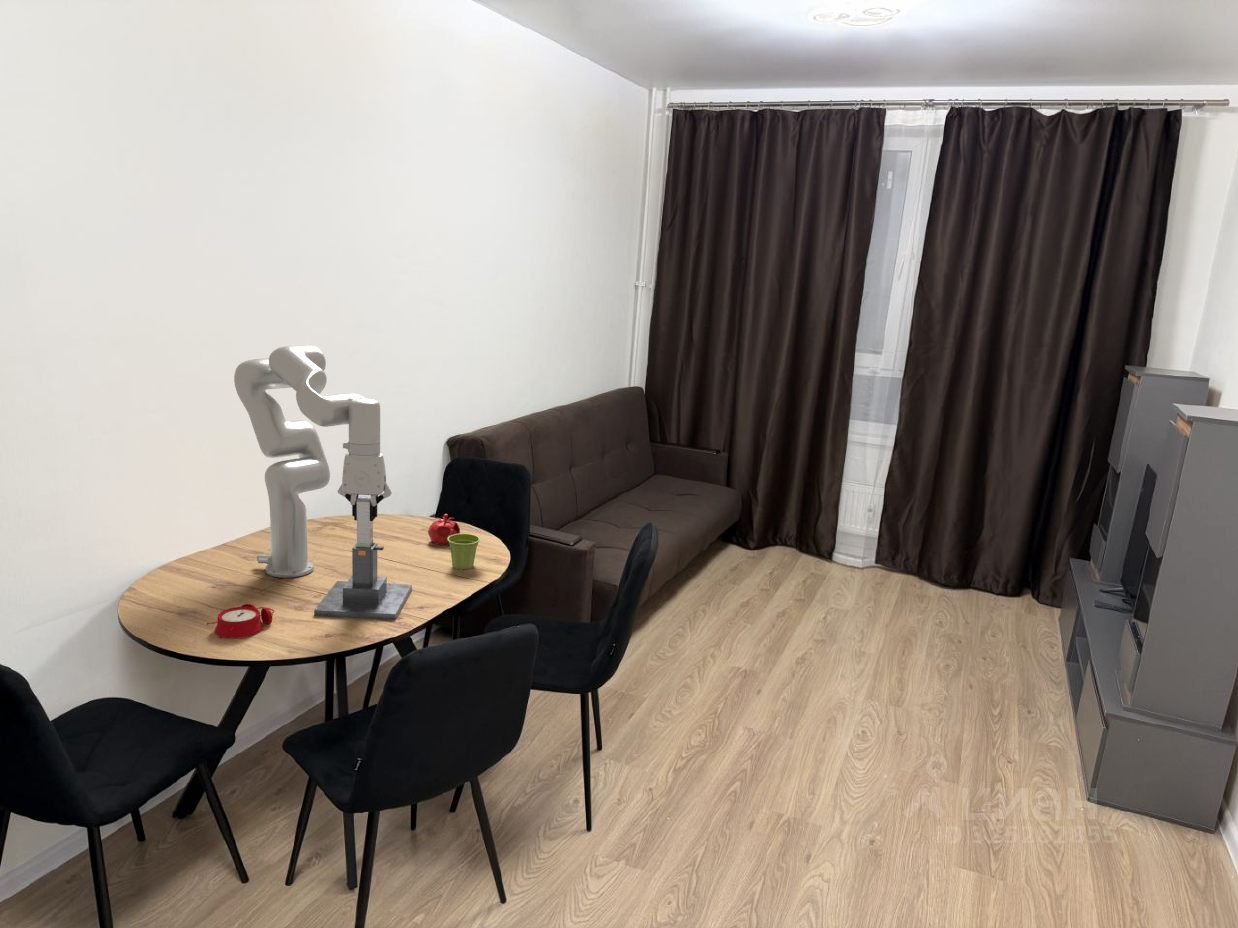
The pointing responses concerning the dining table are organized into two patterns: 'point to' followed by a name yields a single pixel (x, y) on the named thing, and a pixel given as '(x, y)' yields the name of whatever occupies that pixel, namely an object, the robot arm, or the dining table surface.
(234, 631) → the alarm clock
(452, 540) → the plant pot
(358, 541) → the steel post
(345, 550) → the dining table surface
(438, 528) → the pomegranate
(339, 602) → the charcoal stand
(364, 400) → the robot arm
